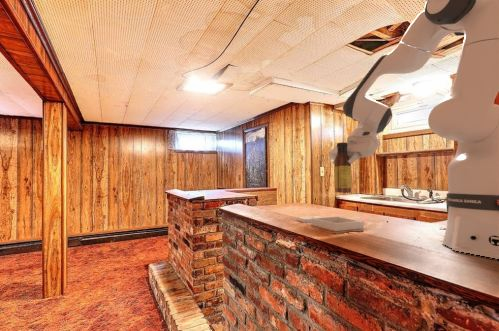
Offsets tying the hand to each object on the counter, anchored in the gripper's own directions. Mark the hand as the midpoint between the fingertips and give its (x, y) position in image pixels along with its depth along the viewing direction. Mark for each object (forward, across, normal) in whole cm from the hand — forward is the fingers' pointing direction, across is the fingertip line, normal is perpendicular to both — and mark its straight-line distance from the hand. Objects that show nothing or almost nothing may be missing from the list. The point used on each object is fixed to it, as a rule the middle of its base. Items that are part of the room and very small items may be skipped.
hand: (341, 163), depth 100 cm
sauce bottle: (+8, 0, +9) cm, 12 cm away
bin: (+24, +8, +10) cm, 27 cm away
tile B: (+26, -5, +7) cm, 27 cm away
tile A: (+21, -5, +11) cm, 25 cm away
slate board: (+24, -6, +10) cm, 27 cm away
